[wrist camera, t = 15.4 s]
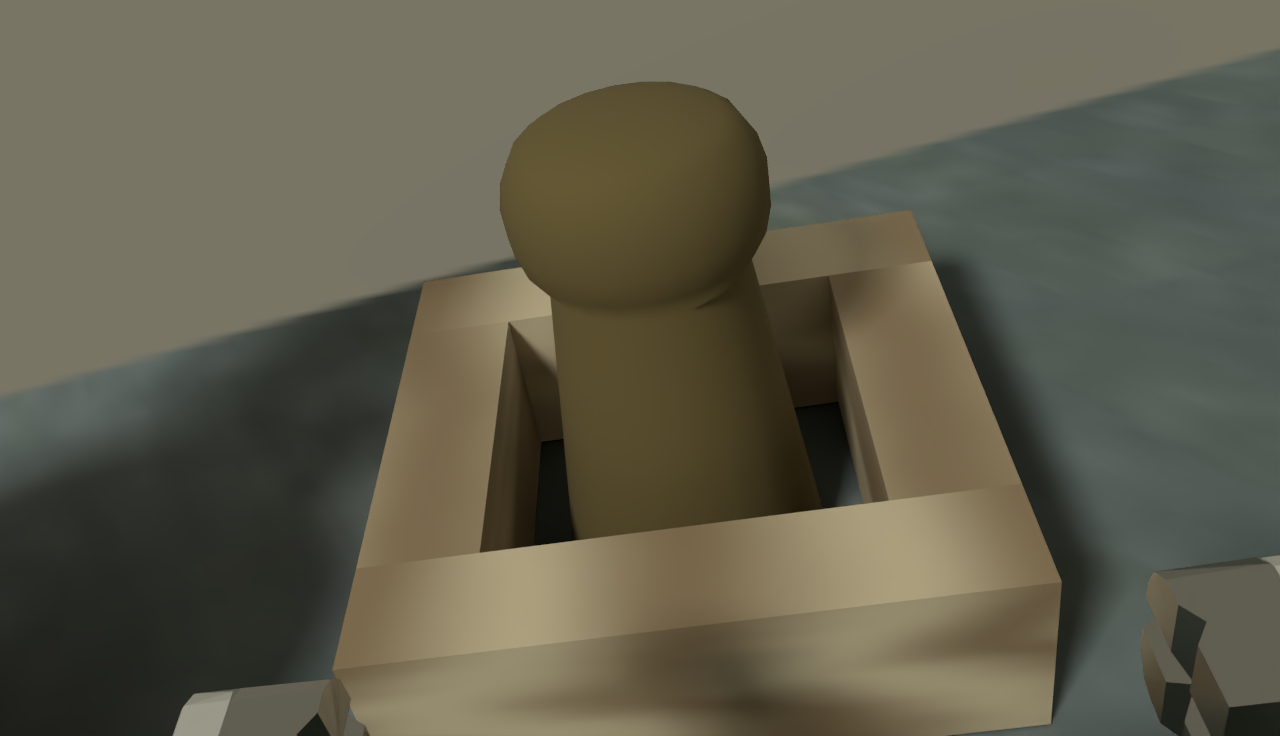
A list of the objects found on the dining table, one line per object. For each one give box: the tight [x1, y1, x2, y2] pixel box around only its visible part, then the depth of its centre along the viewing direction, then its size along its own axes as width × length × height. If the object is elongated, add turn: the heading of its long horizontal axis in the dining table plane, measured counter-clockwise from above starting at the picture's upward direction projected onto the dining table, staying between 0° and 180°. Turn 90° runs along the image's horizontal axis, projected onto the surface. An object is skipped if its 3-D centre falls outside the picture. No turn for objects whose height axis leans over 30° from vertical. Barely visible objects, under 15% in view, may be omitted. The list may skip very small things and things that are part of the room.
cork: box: [500, 82, 823, 541], centre depth 25 cm, size 6×6×11 cm
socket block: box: [332, 210, 1062, 736], centre depth 27 cm, size 13×13×4 cm
